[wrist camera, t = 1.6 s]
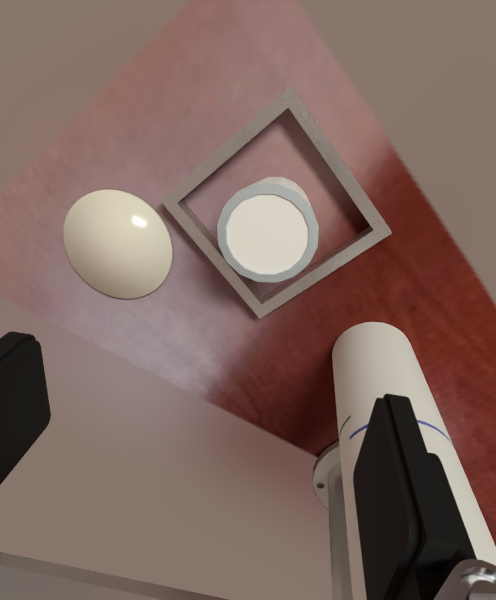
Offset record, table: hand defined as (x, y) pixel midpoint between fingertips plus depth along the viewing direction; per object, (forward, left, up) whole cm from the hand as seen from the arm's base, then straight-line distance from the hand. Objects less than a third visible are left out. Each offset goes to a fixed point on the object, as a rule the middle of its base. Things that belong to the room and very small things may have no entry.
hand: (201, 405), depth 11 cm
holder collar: (0, 0, -25) cm, 25 cm away
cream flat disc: (+6, +13, -25) cm, 28 cm away
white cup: (0, 0, -25) cm, 25 cm away
